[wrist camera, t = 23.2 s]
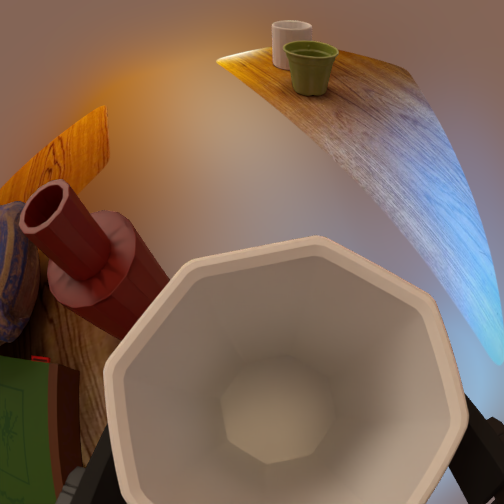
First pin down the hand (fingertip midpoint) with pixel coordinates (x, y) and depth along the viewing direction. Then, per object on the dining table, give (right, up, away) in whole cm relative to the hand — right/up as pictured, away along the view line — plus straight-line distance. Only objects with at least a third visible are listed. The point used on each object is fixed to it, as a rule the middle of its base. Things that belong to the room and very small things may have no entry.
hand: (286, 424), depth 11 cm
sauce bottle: (-11, 0, +17) cm, 20 cm away
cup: (+1, -6, +12) cm, 14 cm away
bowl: (-33, +1, +19) cm, 38 cm away
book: (-27, -16, +8) cm, 33 cm away
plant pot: (+9, +37, +36) cm, 52 cm away
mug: (+8, +49, +44) cm, 66 cm away
